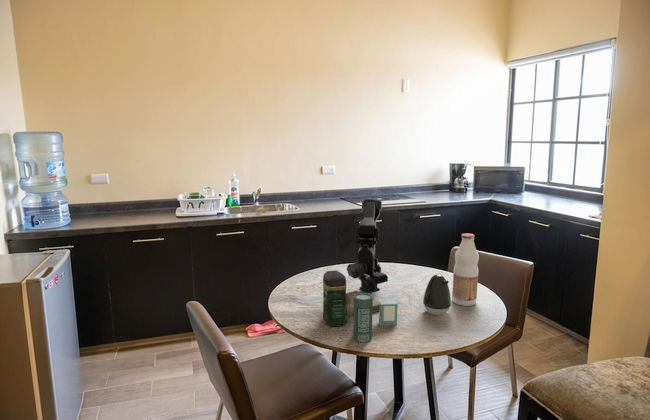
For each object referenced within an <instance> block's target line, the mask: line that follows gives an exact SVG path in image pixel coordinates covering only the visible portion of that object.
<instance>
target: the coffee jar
mask: <svg viewBox="0 0 650 420" xmlns="http://www.w3.org/2000/svg"><path fill="white" fill-rule="evenodd" d="M322 277H323V279H322V283H323V285H322V286H323V290H322V292H323V294H322V295H323V296H322V302H323V303H322V318H323V319H322V320H323V321H324V323H325V324H326V325H328V326H333V327H341V326H343V325H345V324H346V321H347V316H346V293H347V278H346V276H345V275H344V274H343V273H342V272H341V271H338V270H327V271H325V273H324V274H323V276H322Z"/></svg>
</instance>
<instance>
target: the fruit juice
mask: <svg viewBox="0 0 650 420" xmlns="http://www.w3.org/2000/svg"><path fill="white" fill-rule="evenodd" d="M474 240H475V234H473V233H468V232H467V233H461V242H460V244H459V245H458V248H457V249H456V251H455V254H454V259H455V264H454V265H453V275H452V276H453V277H452V292H451V293H452V297H451V298H452V299H451V301H452V302H453V304H455V305H459V306H464V307H471V306H474V305H476V303H477V299H478V297H477V296H478V284H479V283H478V282H479V281H478V280H479V267H478V263H479V260H480V255H479V252H478V250H477V247H476V244H475V242H474Z"/></svg>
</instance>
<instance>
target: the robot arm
mask: <svg viewBox="0 0 650 420" xmlns="http://www.w3.org/2000/svg"><path fill="white" fill-rule="evenodd" d="M382 203H383V202H382V201H381V200H379V199H376V198H365V199H364V200H361V210H362V211H363V213H362V214H363V219H362V220H360V221H359V224H358V226H357V227H356V228H357V229H356V230H357V231H356V242H355V243H356V244H359V249H358V250H357V251H358V252H357V256H356V257H357V259H356V262H354V263H350V264H348V265H347V266H346V272H347V274H348V277H351V278H352V279H359V280H360V287H358V288H359V289H360V290H362V291H363V293H368V294H370V293H373V292H376V291H379V290H380V287H378V285H379V284H383V283H387V282H388V281H389V280H388V279H389V277H388V276H389V275H387V274H386V273H384V272H382V267H381V266H380V263H379V259H378V258H377V256H376V245H377V243H378V242H379V237H380V230H379V228H378V226H377V220H378V219H379V217H380V216H381V211H382V210H383V208H382V207H383V206H382V205H383V204H382Z"/></svg>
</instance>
